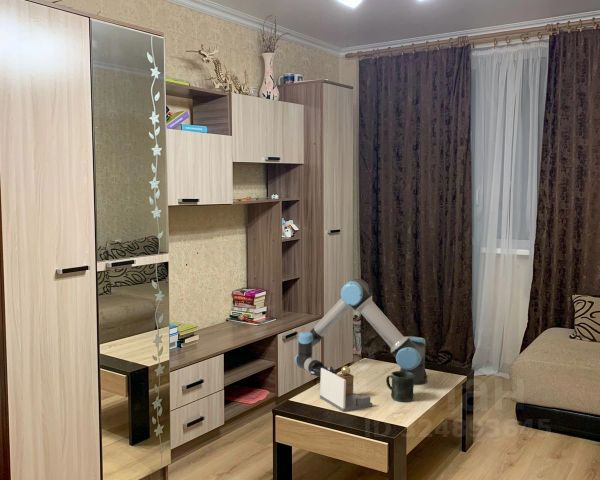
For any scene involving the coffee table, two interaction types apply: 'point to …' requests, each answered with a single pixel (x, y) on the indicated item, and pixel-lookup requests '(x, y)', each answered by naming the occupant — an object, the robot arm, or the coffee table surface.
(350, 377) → the slider
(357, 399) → the stand
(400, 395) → the mug
